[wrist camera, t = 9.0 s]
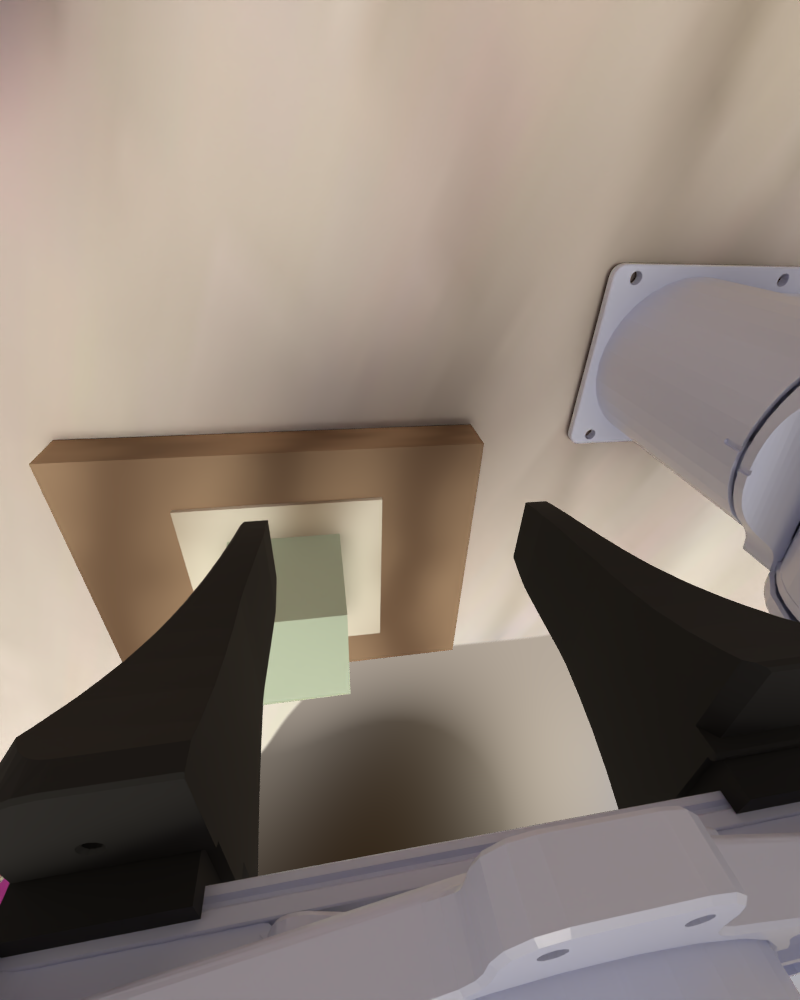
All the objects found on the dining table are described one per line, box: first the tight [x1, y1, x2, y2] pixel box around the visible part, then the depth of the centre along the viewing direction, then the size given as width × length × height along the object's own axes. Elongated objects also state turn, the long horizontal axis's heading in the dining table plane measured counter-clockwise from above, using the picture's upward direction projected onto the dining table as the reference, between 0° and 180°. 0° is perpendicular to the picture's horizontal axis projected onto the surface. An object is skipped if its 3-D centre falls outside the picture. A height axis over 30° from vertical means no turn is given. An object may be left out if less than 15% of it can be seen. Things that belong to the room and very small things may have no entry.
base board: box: [29, 424, 484, 662], centre depth 24 cm, size 18×14×2 cm
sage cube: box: [226, 534, 350, 705], centre depth 20 cm, size 5×5×5 cm
